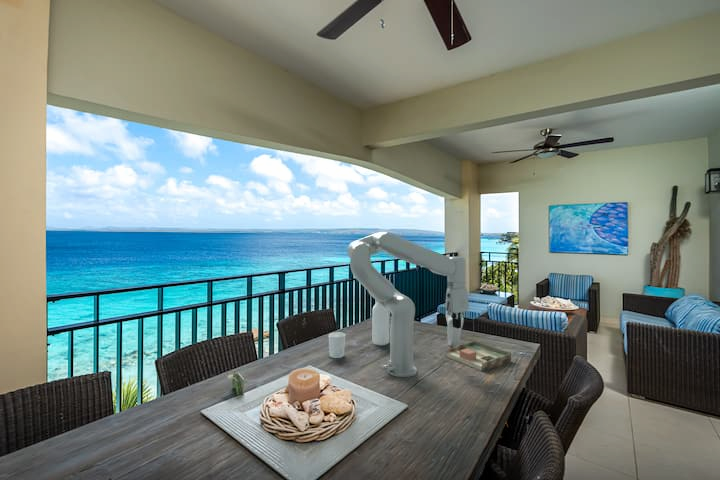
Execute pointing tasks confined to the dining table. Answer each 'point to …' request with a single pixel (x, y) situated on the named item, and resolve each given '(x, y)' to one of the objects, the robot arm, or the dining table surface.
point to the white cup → (336, 344)
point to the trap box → (480, 356)
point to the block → (467, 354)
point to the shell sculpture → (453, 331)
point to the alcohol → (380, 325)
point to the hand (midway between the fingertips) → (456, 327)
